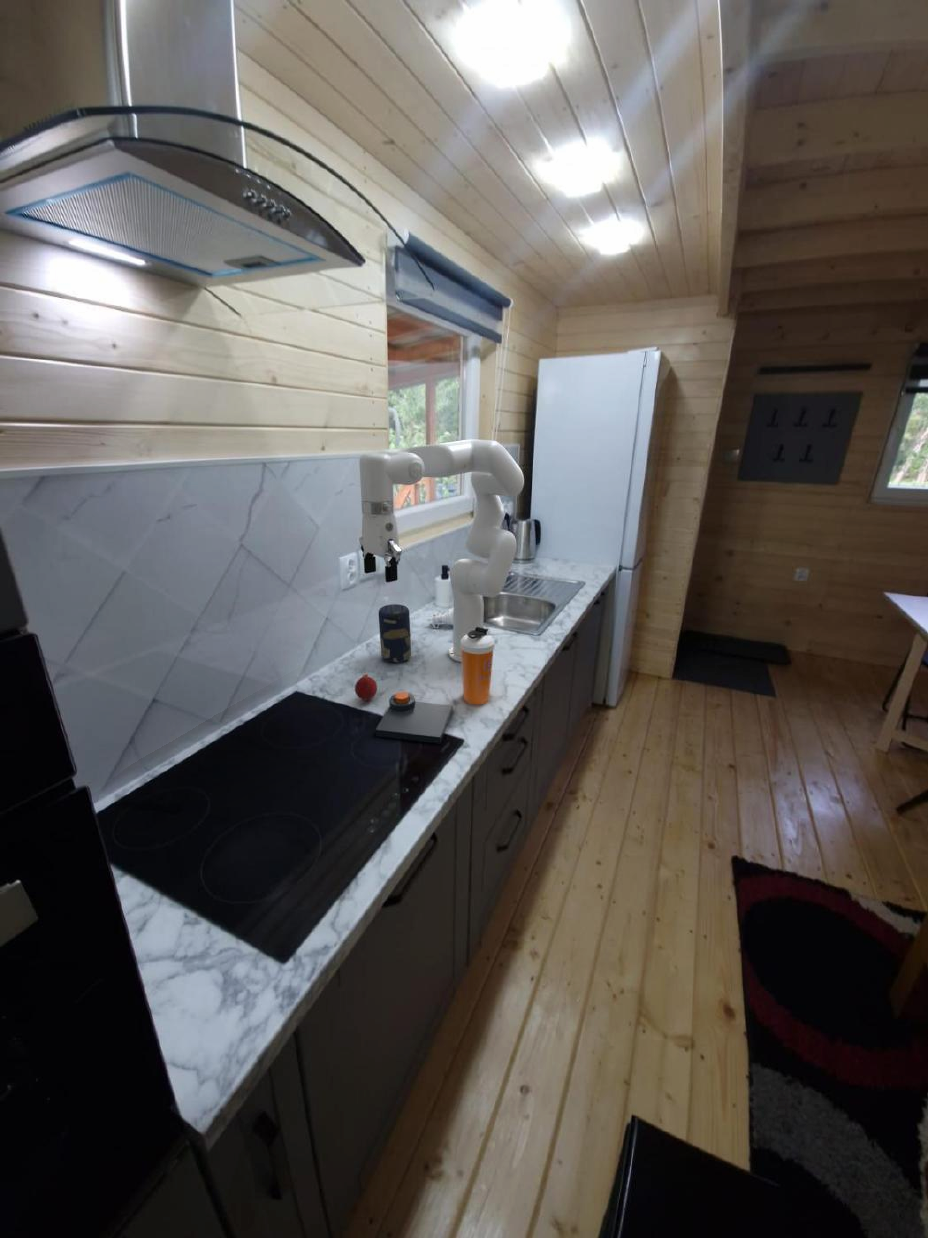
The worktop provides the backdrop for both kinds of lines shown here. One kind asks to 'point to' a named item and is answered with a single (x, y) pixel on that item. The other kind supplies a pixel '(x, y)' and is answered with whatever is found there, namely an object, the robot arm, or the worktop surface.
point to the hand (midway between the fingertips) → (380, 576)
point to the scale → (415, 721)
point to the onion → (365, 687)
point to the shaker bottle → (477, 665)
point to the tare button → (401, 697)
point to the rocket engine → (442, 618)
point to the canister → (395, 633)
